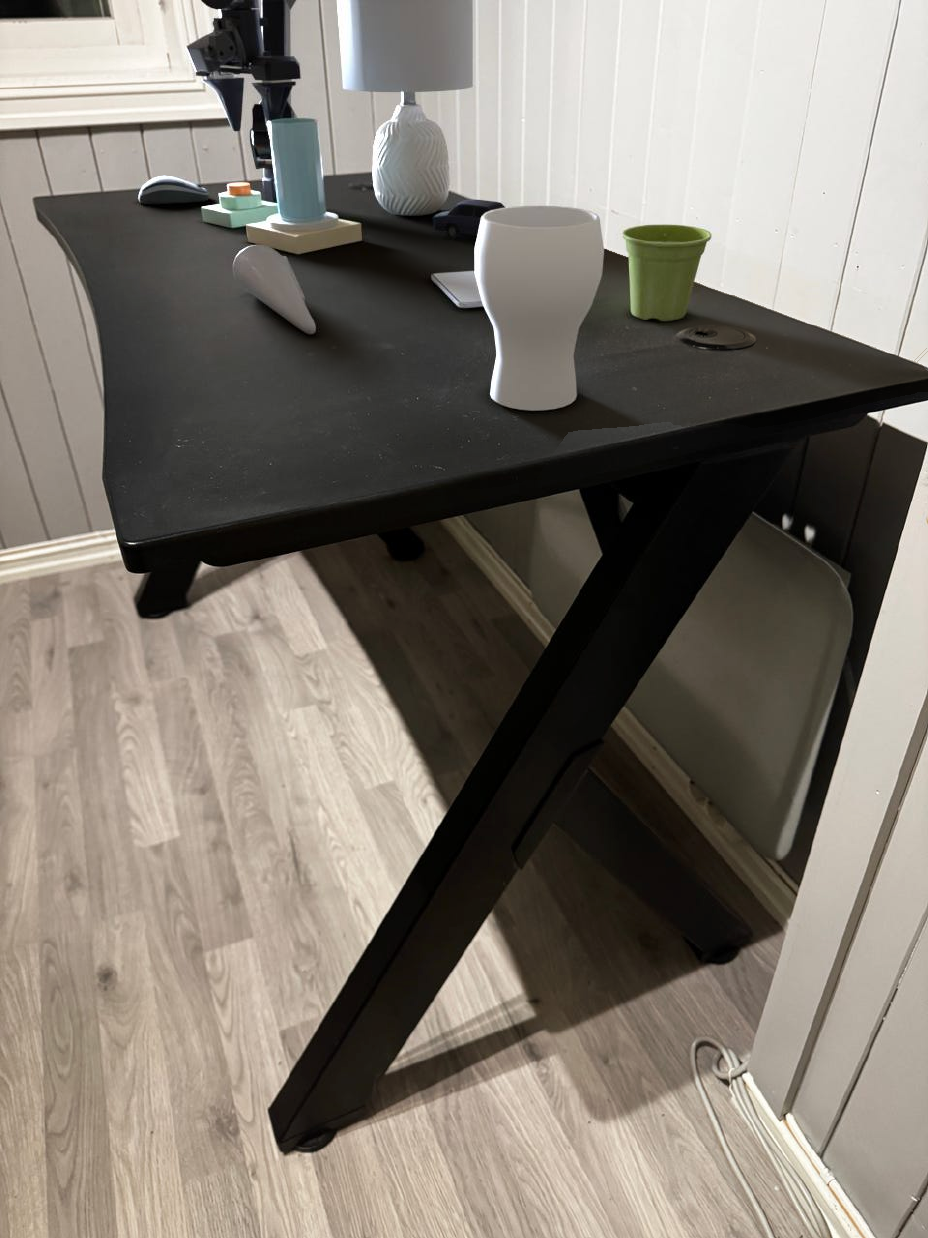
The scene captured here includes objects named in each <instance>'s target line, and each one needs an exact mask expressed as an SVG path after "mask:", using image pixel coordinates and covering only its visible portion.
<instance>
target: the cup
mask: <svg viewBox="0 0 928 1238" xmlns="http://www.w3.org/2000/svg"><path fill="white" fill-rule="evenodd" d="M505 207H506V208H500V209H495V210H491V211H489V212H486V213H484V214H483V215H482V217H481V221H480V226H479V231H478V235H476V236H477V237H476V241H475V245H474V270H475V277H476V281H477V284H478V288H479V292H480V296H481V300H482V303H483V306H484V307H483V308H484V311H485V312H486V314H487V316H488V318H489V320H490V323H491V325H492V327H493V334H494V342H495V351H496V352H495V353H496V356H495V362H494V367H493V372H492V378H491V384H490V393H489V395H490V398H491V399H492V400H493V401H494V402H495V403H497V404H499V405H501V406H503V407H507V408H510V409H516V410H520V411H533V412H535V411H549V410H556V409H560V408H564V407H567V406H569V405H571V404H572V403H573V402H575V401H576V399H577V396H578V391H577V376H576V367H575V366H576V365H575V357H574V356H575V349H576V345H577V341H578V340H577V339H578V334H579V331H580V330H579V329H580V327H581V326H582V323H583V322H584V320H585V318H586V316H587V315H588V313H589V311H590V309H591V308H592V305H593V303H594V300H595V297H596V294H597V291H598V289H599V285H600V283H601V280H602V277H603V270H604V269H603V268H604V257H605V247H604V239H603V232H602V225H601V219H600V216H599V215H598V214H597V213H595V212H593V211H591V210H588V209H584V208H577V207H571V206H560V205H542V204H541V205H516V206H505Z"/></svg>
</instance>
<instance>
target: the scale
mask: <svg viewBox="0 0 928 1238" xmlns="http://www.w3.org/2000/svg"><path fill="white" fill-rule="evenodd" d="M245 228H246V234H247V235H246V236H247V242H248V243H252V244H254V245H264V246H268V247H270V248H272V249H274V250H275V249H277V250H279V251H284V252H288V253H292V254H295V255H301V254H305V253H311V252H315V251H319V250H324V249H325V250H326V249H329V248H333V247H338V246H343V245H347V244H348V245H349V244H352V243H356V242H361V241H363V235H362V223H360V222H356V221H352V220H346V219H342V218H339V215H338V214H336V213H334V212H330V211H326V217H325V218H324V219H321V220H316V221H309V222H290V221H284V220H281V219H280V218H279V214H275V215H272V216H269V217H268V218H267V221H263V222H258V223H253V224H247V225H246V226H245Z"/></svg>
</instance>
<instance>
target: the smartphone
mask: <svg viewBox="0 0 928 1238" xmlns="http://www.w3.org/2000/svg"><path fill="white" fill-rule="evenodd" d="M430 278H431V281H432V282H433V283H434V284H435V285H436V286H437V287H438V288H439V289H440V290H441V291H442V292H443V293H444V294H445V295H446V296H447V297H448V298H449V299H450V300H451V301H452V302H453V303H454V304H455V305H456V306H457V307H458V308H460V309H461V308H462V309H470V308H471V309H472V308H484V306H483V303H482V300H481V296H480V292H479V288H478V284H477V281H476V277H475V269H474V270H460V271H446V272H445V271H444V272H435V273H432V274H431V277H430Z"/></svg>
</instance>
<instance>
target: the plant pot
mask: <svg viewBox="0 0 928 1238" xmlns="http://www.w3.org/2000/svg"><path fill="white" fill-rule="evenodd" d="M712 235H713V234H712V233H711V232H710V231H709V230H707V229H704V228H700V227H696V226H689V225H685V224H684V225H682V224H666V223H665V224H644V225H636V226H633V227H632V226H631V227H628V228H626V229H625V230H623V231H622V232H621V237H622V238H623V239H624V240H625V250H626V253H627V254H628V273H629V294H630V295H629V296H630V312H631V313H630V314H632V316H634V317H635V318H638V319H640V320H643V321H649V320H650V319H656V320H658V321H659V322H670V321H676V320H677V321H678V320H680V319H682V318H684V317H685V315H686V314H687V312H688V308H689V304H690V302H691V301H690V300H691V296H692V292H693V288H694V284H695V280H696V277H697V273H698V268H699V264H700V261H701V258H702V255H703V254H704V252H705V250H706V247H707V243H708V242H709V241H711V239H712V237H713V236H712Z"/></svg>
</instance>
